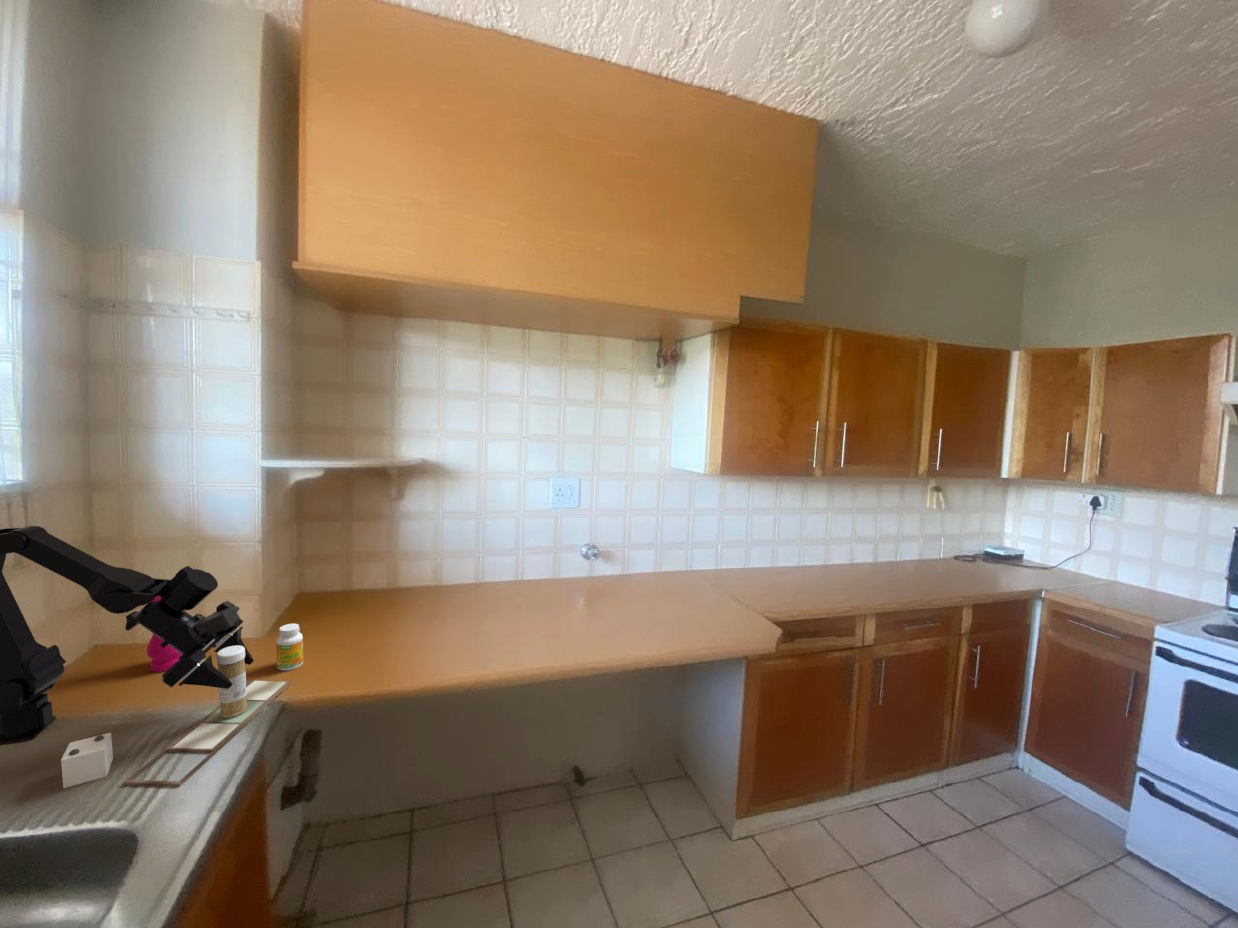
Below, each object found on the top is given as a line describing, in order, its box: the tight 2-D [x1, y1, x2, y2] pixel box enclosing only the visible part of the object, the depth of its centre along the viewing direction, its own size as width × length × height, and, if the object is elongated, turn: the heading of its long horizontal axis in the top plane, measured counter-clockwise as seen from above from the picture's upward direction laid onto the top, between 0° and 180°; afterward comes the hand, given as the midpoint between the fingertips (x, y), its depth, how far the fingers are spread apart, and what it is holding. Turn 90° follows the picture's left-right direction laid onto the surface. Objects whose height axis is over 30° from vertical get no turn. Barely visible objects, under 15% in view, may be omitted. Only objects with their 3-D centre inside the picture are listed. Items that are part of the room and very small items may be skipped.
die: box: [60, 732, 114, 789], centre depth 85 cm, size 5×5×6 cm
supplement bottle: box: [275, 623, 304, 672], centre depth 121 cm, size 5×5×10 cm
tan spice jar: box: [216, 646, 247, 718], centre depth 102 cm, size 5×5×14 cm
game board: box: [123, 680, 293, 787], centre depth 99 cm, size 9×30×1 cm, turn 2°
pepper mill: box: [146, 597, 183, 673], centre depth 118 cm, size 7×7×20 cm
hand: (241, 674), depth 102 cm, fingers open, 9 cm apart
